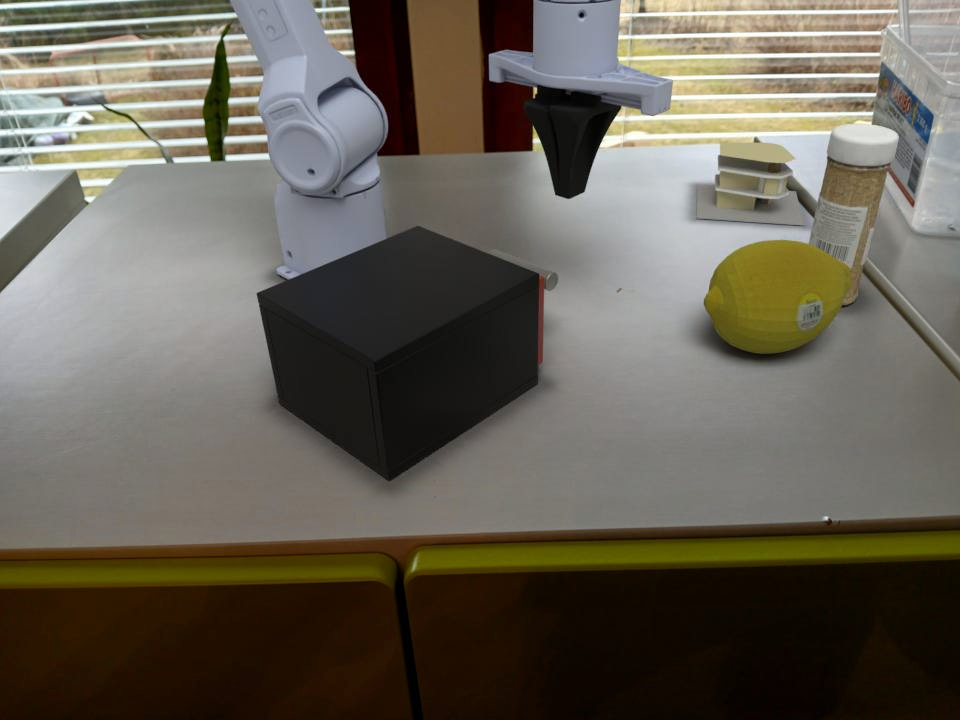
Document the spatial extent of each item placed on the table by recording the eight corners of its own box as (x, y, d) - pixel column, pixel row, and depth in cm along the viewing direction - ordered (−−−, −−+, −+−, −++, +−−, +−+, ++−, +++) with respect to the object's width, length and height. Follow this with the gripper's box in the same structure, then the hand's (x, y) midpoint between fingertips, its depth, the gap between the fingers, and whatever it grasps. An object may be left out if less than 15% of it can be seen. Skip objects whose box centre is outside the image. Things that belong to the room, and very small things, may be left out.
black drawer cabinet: (425, 327, 62) (417, 224, 57) (538, 383, 55) (540, 273, 50) (278, 403, 54) (255, 292, 49) (389, 481, 47) (374, 361, 42)
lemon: (710, 377, 55) (727, 274, 51) (680, 321, 62) (692, 225, 57) (863, 368, 56) (892, 266, 51) (816, 313, 62) (839, 218, 58)
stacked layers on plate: (696, 218, 78) (703, 164, 75) (697, 185, 85) (704, 135, 82) (804, 225, 76) (815, 170, 73) (795, 191, 83) (806, 139, 80)
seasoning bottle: (868, 297, 64) (914, 132, 57) (832, 314, 62) (875, 144, 54) (820, 276, 67) (857, 117, 60) (784, 291, 65) (818, 129, 58)
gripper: (707, -2, 50) (683, 201, 57) (533, -21, 59) (531, 158, 66) (643, 15, 46) (625, 232, 53) (466, -8, 54) (472, 182, 62)
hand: (569, 193), depth 59 cm, fingers closed
